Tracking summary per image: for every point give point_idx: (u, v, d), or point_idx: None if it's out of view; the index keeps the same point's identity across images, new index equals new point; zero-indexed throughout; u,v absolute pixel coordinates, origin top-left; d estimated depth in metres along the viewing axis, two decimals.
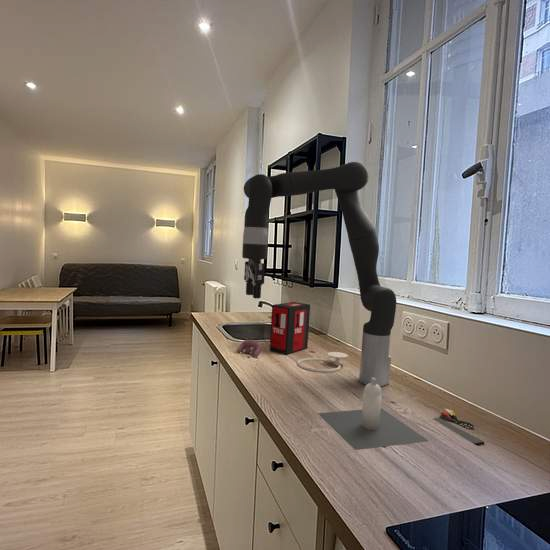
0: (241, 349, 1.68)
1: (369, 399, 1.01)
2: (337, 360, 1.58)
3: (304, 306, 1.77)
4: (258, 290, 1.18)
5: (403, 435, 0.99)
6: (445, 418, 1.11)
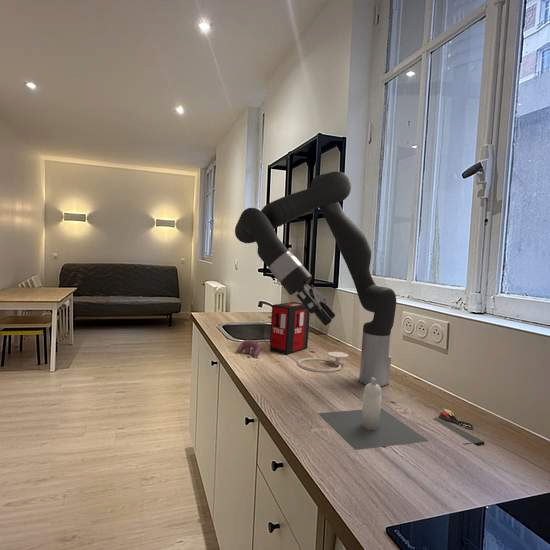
0: (241, 349, 1.67)
1: (369, 399, 1.01)
2: (337, 360, 1.59)
3: (304, 306, 1.77)
4: (322, 316, 0.99)
5: (403, 435, 0.99)
6: (444, 418, 1.11)
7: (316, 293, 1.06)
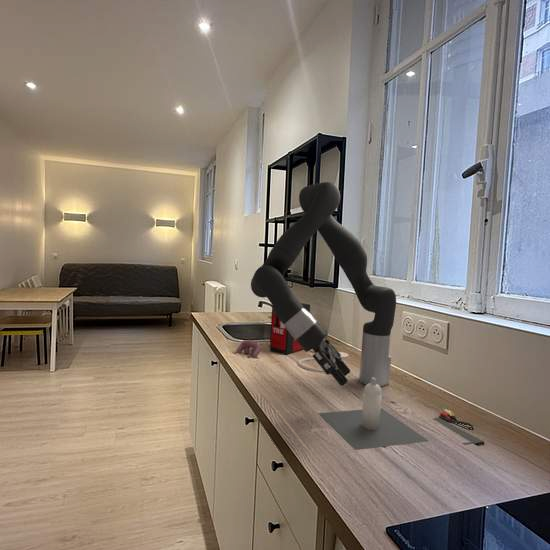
0: (240, 350, 1.67)
1: (369, 399, 1.01)
2: None
3: (304, 306, 1.77)
4: (338, 376, 0.99)
5: (403, 435, 0.99)
6: (444, 419, 1.11)
7: (331, 350, 1.06)
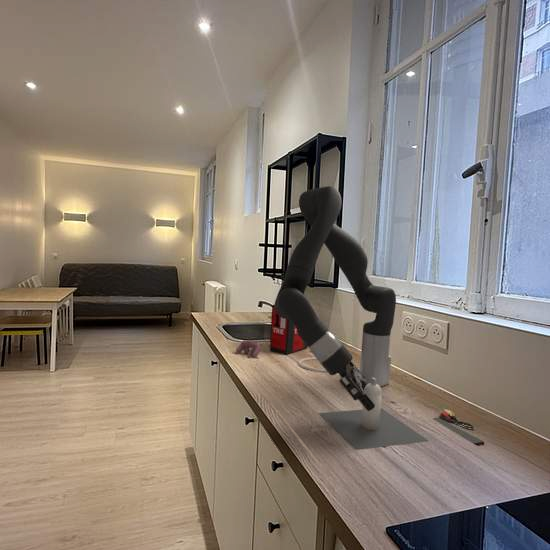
0: (240, 350, 1.66)
1: None
2: None
3: None
4: (365, 401, 0.98)
5: (403, 435, 0.99)
6: (444, 419, 1.11)
7: (356, 373, 1.05)
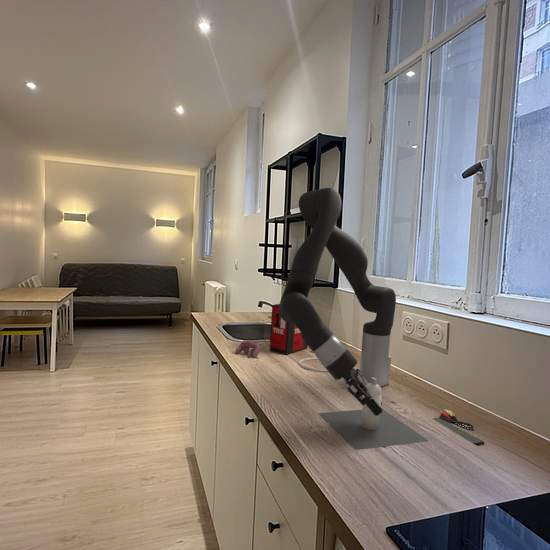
0: (239, 350, 1.66)
1: None
2: None
3: None
4: (373, 406, 0.99)
5: (403, 435, 0.99)
6: (445, 419, 1.11)
7: (361, 378, 1.04)
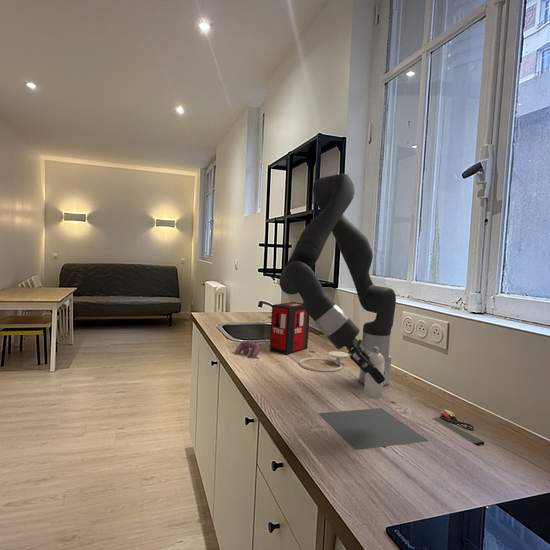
0: (239, 350, 1.66)
1: None
2: (338, 359, 1.59)
3: None
4: (376, 375, 0.99)
5: (403, 435, 0.99)
6: (445, 419, 1.11)
7: (363, 347, 1.04)
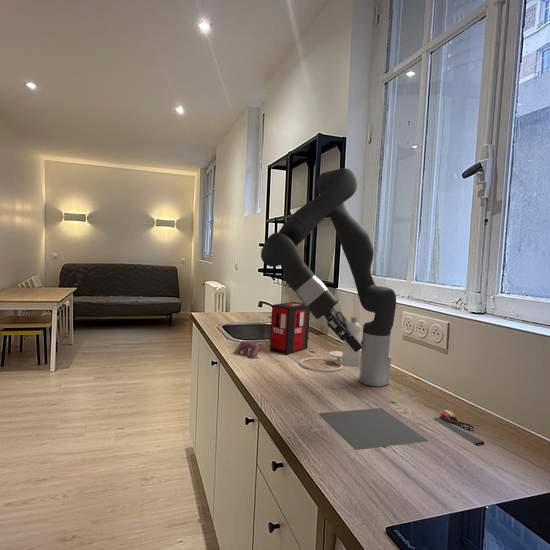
0: (238, 350, 1.65)
1: None
2: (338, 359, 1.60)
3: (304, 306, 1.77)
4: (352, 342, 1.02)
5: (403, 435, 0.99)
6: (445, 419, 1.10)
7: (342, 317, 1.07)
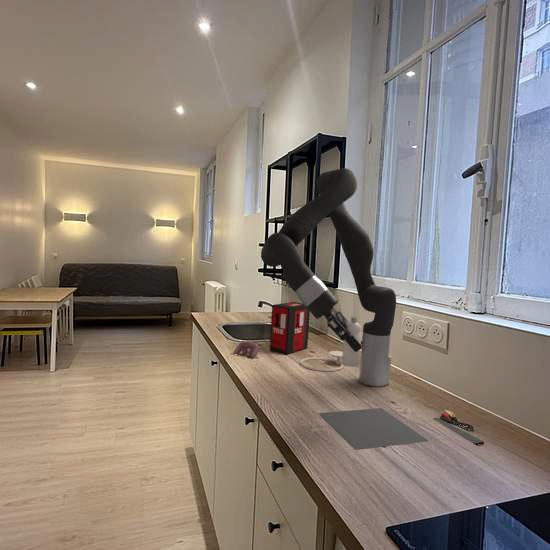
0: (238, 351, 1.65)
1: None
2: (339, 359, 1.60)
3: (304, 306, 1.77)
4: (352, 342, 1.02)
5: (403, 435, 0.99)
6: (445, 419, 1.10)
7: (342, 317, 1.07)
